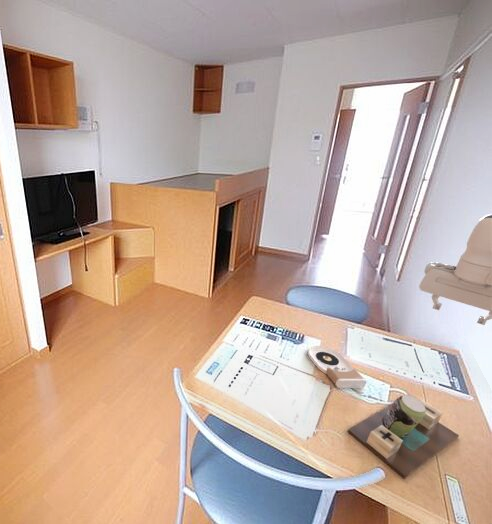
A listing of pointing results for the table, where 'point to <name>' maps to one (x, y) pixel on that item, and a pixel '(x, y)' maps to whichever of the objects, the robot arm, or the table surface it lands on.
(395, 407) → the beverage can
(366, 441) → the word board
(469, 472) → the table surface
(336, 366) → the record player
